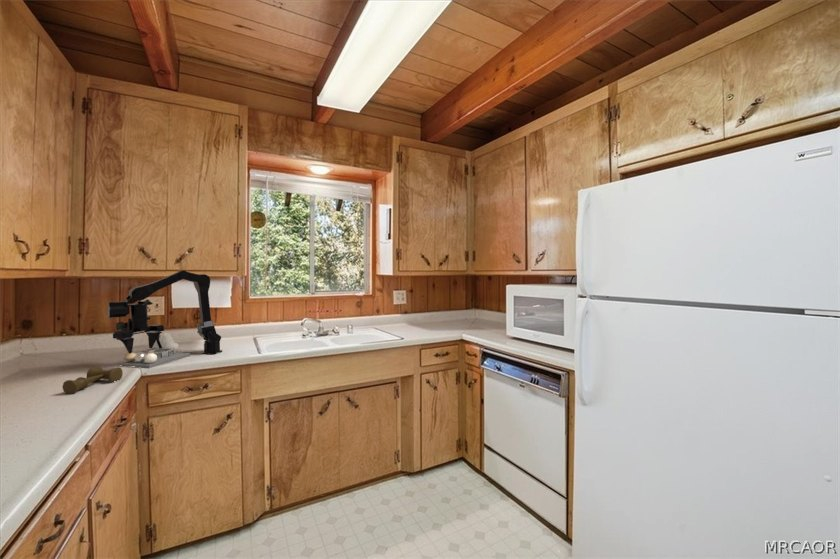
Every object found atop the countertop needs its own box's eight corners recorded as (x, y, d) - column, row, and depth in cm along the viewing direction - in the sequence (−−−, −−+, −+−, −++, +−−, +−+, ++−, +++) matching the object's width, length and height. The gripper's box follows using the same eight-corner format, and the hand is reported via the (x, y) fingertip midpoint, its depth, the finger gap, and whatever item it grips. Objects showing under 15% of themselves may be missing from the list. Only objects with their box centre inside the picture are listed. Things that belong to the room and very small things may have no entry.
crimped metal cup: (180, 353, 170) (180, 348, 170) (161, 358, 160) (160, 353, 160) (163, 352, 172) (163, 347, 172) (142, 357, 162) (142, 352, 162)
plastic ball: (159, 362, 155) (159, 352, 155) (150, 364, 150) (150, 354, 150) (151, 361, 156) (151, 351, 155) (142, 364, 151) (141, 354, 151)
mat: (190, 355, 170) (190, 353, 170) (149, 368, 150) (149, 365, 150) (163, 354, 173) (163, 351, 173) (119, 366, 153) (119, 363, 153)
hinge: (170, 353, 175) (161, 335, 174) (160, 357, 174) (151, 339, 172) (179, 346, 191) (171, 329, 189) (169, 349, 189) (161, 333, 187)
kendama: (54, 396, 120) (108, 375, 140) (81, 397, 119) (132, 376, 139) (53, 379, 119) (108, 361, 139) (81, 379, 119) (131, 362, 139)
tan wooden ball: (139, 360, 157) (139, 351, 157) (129, 363, 153) (129, 353, 152) (131, 360, 158) (131, 350, 158) (121, 363, 154) (121, 353, 153)
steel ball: (149, 361, 156) (149, 351, 156) (140, 364, 152) (139, 354, 151) (141, 360, 157) (141, 351, 157) (131, 363, 152) (131, 353, 152)
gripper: (144, 312, 164) (146, 345, 165) (101, 318, 146) (103, 355, 146) (164, 312, 162) (165, 346, 163) (123, 319, 144) (124, 356, 144)
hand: (140, 350), depth 154 cm, fingers open, 9 cm apart
